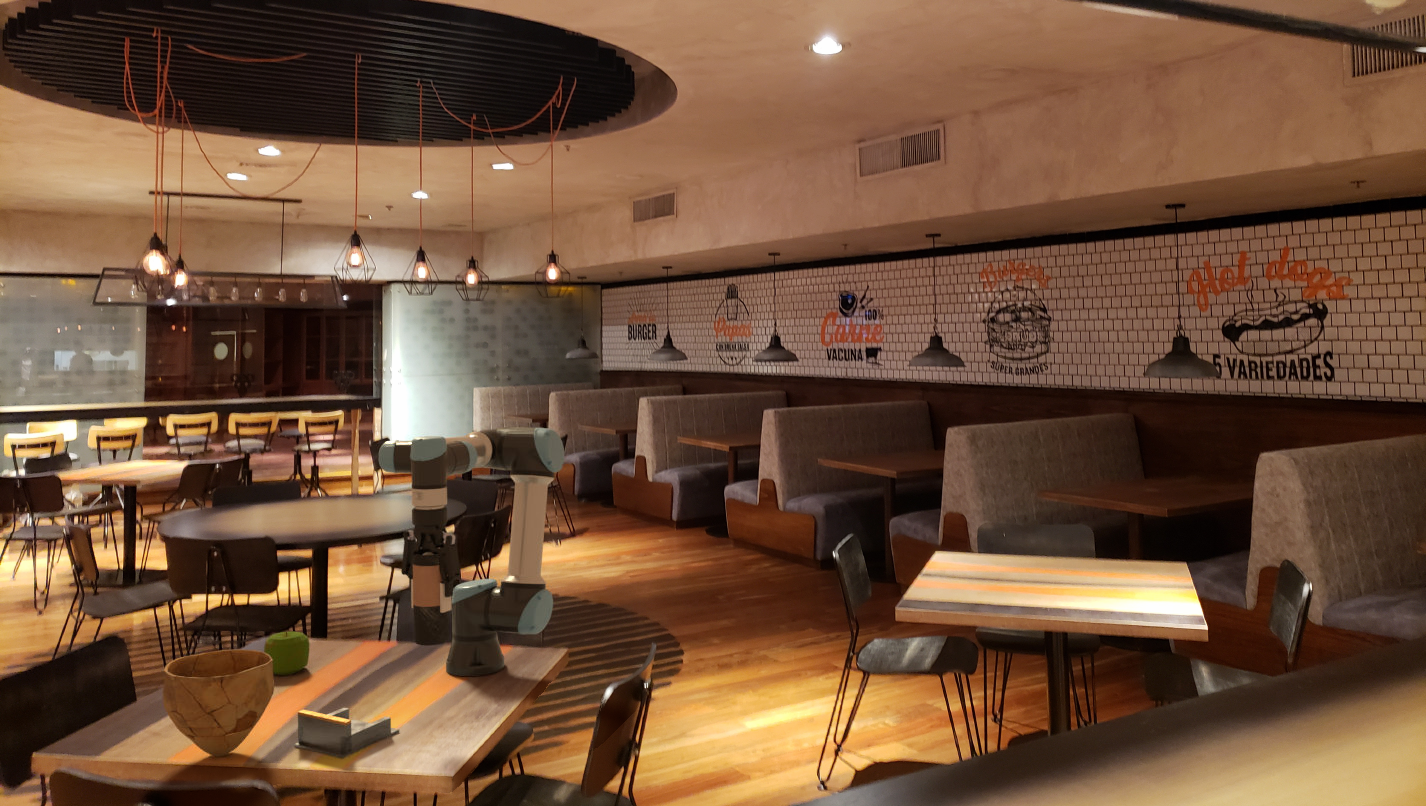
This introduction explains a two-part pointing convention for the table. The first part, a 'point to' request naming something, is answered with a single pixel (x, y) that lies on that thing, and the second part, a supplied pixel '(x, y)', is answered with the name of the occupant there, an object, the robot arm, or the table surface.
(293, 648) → the apple
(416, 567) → the travel mug
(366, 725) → the grey holder
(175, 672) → the bowl
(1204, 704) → the table surface
